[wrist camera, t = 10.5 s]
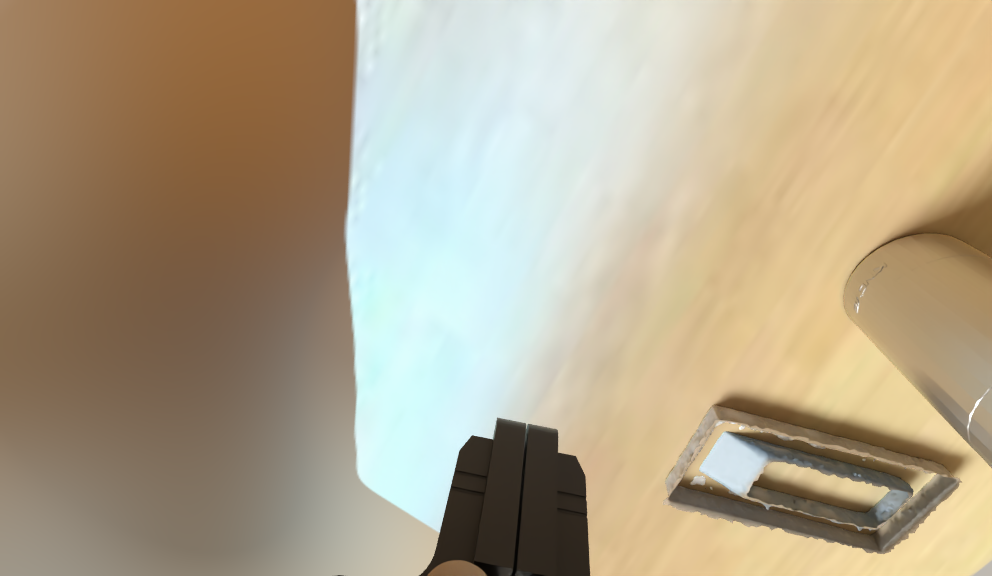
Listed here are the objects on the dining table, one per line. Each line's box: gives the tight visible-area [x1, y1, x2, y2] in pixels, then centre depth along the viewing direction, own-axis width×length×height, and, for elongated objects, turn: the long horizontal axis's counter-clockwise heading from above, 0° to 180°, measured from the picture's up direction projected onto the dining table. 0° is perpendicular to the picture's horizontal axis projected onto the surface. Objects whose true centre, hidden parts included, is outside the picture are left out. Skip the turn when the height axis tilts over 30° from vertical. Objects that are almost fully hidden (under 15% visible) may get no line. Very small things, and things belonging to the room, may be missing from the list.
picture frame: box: [663, 405, 961, 554], centre depth 49 cm, size 13×25×3 cm, turn 78°
